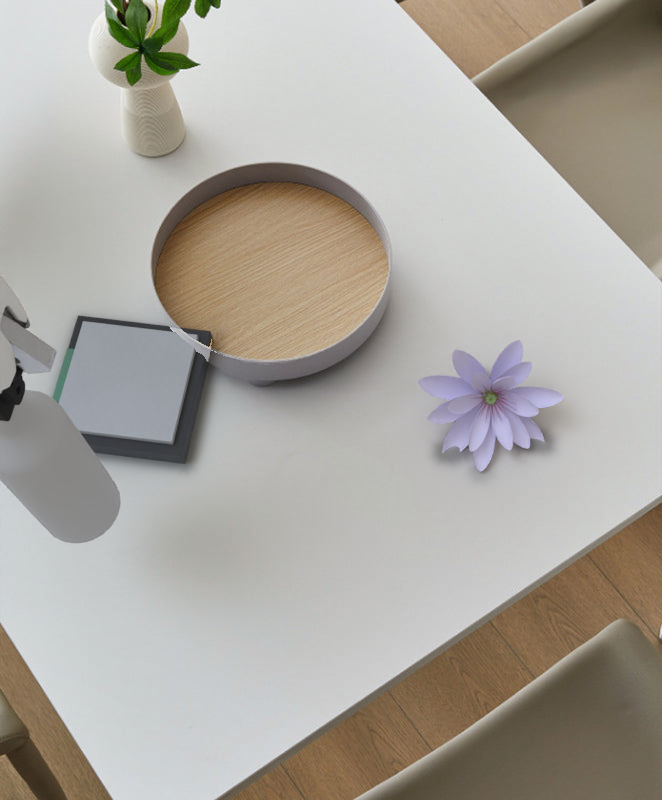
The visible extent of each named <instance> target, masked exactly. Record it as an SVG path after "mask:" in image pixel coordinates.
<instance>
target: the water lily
mask: <svg viewBox="0 0 662 800" xmlns="http://www.w3.org/2000/svg"><path fill="white" fill-rule="evenodd" d="M523 356H524V347H523V342H522V341H521V339H516V340H514V341H512V342H510V343H509V344H508V345H507V346H505V348H504V349H503V350H502V351H501V352H500V354H499V355H498V357H497V358H496V360H495V362H494V363H493V365H492V367H491V369H490V374H489V376H488V372H487V370H486V368H485V367H484V366H483V365H482V363H481V362H480V361H479V360H478V359H477V358H476V357H475V356H473V355H472V354H471V353H469V352H467V351H465V350H462V349H457V348H456V349H454V350H453V351H452V355H451V361H452V365H453V368H454V370H455V372H456V373H457V375H458V376H455V375H445V374H434V375H433V374H432V375H426V376H423V377H421V378H419V379H418V380H417V384H418V385H419V387H420V388H421V389H422V390H423V391H424V392H425V393H427V394H428V395H430V396H432V397H434V398H437V399H441V400H445V401H444V402H442V403H440V404H438V406H437V407H435V408H434V409H433V410H432V411H431V412H430V413H429V414H428V415H427V417H426V420H427V421H428V422H430V423H433V424H438V425H439V424H441V425H442V424H449V423H451V422H454V423H453V425H452V426H451V427H450V428H449V430H448V432H447V435H446V436H445V439H444V440H443V445H442V450H441V453H442V454H444V453H445V452H446V451H447V450H448V449H450V448H453V447H456V448H458V449H459V453H461V452H462V451H463V450H465V449H466V448H467V447H468V449H469V452H470V453H472V455H473V461H474V465H475V467H476V470H478V472H480V473H481V472H483V471H484V470H485V469H486V468H487V467H488V466H489V464H490V462H491V461H492V458H493V455H494V451H495V447H496V439H497V441H498V442H499V444H500V445H501V446H502V447H503V448H504V449H505V450H507V451H512V450H513V446H514V444H515V445H517V446H519V448H523V449H526V450H528V449H530V447H531V439H534V440H538V441H540V442H542V443H546V441H545V437H544V434H543V432H542V430H541V428H540V427H539V426H538V424H537V423H536V421H534V420H533V419H532V417H535V416H537V415H539V413H540V410H539V409H547V408H549V407H554V406H556V405H558V404H559V403H561V402H563V400H564V399H565V396H564V395H563V394H562V393H560V392H559V391H557V390H554V389H551V388H548V387H541V386H519V385H521V383H523V382H524V381H525V380H527V378H528V377H529V375H530V373H531V372H532V368H533V363H532V361H522V360H523V358H524V357H523Z"/></svg>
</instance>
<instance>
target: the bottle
mask: <svg viewBox="0 0 662 800" xmlns="http://www.w3.org/2000/svg"><path fill="white" fill-rule="evenodd" d="M96 454H97V453H94V452H93V450H92V449H91V447H90V446H89V445H88V443H87V442H86V440H85V439H84V437H83V436H82V435H81V433H80V432H79V430H78V429H77V427H76V426H75V425H74V423H73V422H72V420H71V419H70V418H69V416H68V415H67V413H66V412H65V410H64V409H63V408H62V406H61V405H60V404H59V403H58V402H57V401H55V400H54V399H53V396H51V395H49V394H46V393H44V392H42V391H40V390H39V391H38V390H30V389H25V393H24V396H23V399H22V402H21V404H20V405H15V407H14V410H13V413H12V416H11V419H10V421H8V422H7V421H0V481H1V483H3V485H4V486H5V487H6V488H7V489H8V490H9V491H10V492H11V494H13V496H14V497H15V498H16V499H17V500H18V501H19V502H20V503H21V504H22V506H23V507H25V509H27V511H28V512H29V513H30V514H31V515H32V516H33V517H34V518H35V519H36V520H37V521H38V522H39V524H40V525H42V527H43V528H44V529H45V530H46V531H47V532H48V533H49V534H50V535H51V536H52V537H53V538H55V539H57V540H59V541H61V542H64V543H69V544H84V543H88V542H91V541H94V540H96V539H98V538H99V537H102V536H103V535H104V534H105V533H106V532H108V530H109V529H110V528H112V526H113V525H114V523H115V522H116V520H117V518H118V516H119V513H120V509H121V494H120V493H121V492H120V490H119V488H118V486H117V484H116V482H115V481H114V480H113V478H112V476H111V475H110V473H109V471H108V469H106V467H105V466H104V464H103V463H102V461H101V460H100V458H99V457H98V455H96Z"/></svg>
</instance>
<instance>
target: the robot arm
mask: <svg viewBox="0 0 662 800" xmlns="http://www.w3.org/2000/svg"><path fill="white" fill-rule="evenodd" d="M30 327H31V321H30V318H29V316H28V314H27V312H26V309H25V308H24V306H23V304H22V302H21V300H20V299H19V298H18V296H17V295H16V293H15V291H14V290H13V289H12V288H11V285H10V284H9V283H8V282H7V281H6V279H5V278H4V277H3V275H2V274H1V273H0V421H7V422H8V421H10V419H11V416H12V413H13V410H14V407H15V405H20V404H21V402H22V399H23V396H24V393H25V390H26V382H25V380H24V379H23V373H27V374H28V375H32V374H43V373H49V372H51V371H52V368H53V365H54V362H55V359H56V356H57V352H58V351H57V350H56V349H55V348H54V347H52V346H51V345H49V344H48V343H47V342H45V341H44V340H42V339H41V338H39V337H38V336H36V335H35V334H34V333H32V332H31V331H29V330H27V329H28V328H30Z"/></svg>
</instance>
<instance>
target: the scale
mask: <svg viewBox="0 0 662 800" xmlns="http://www.w3.org/2000/svg"><path fill="white" fill-rule="evenodd" d="M169 326H170V325H161V324H154V323H146V322H138V321H128V320H120V319H113V318H104V317H96V316H95V317H94V316H86V315H77V318H76V322H75V324H74V328H73V331H72V334H71V336H70V337H71V338H70V341H69V344H68V346H67V348H66V351H65V355H64V358H63V362H62V365H61V368H60V370H59V374H58V378H57V380H56V384H55V389H54V390H53V394H52V398H53V399H54V400H55V401H57V402H58V403H59V404H60V405H61V406H62V408H63V409H64V410H65V412H66V413H67V415H68V416H69V418H70V419H71V420H72V422H73V423H74V425H75V426H76V427H77V429H78V430H79V432H80V433H81V435H82V436H83V437H84V439H85V440H86V442H87V443H88V445H89V446H90V447H91V449H92V450H93V452H94V453H95V454H101V455H110V456H117V457H118V456H119V457H127V458H134V459H142V460H149V461H159V462H166V463H175V464H181V465H185V464H186V462H187V458H188V453H189V450H190V449H189V448H190V445H191V441H192V436H193V432H194V429H195V424H196V419H197V415H198V411H199V406H200V402H201V398H202V393H203V389H204V384H205V380H206V377H207V372H208V368H209V363H210V361H209V362H207V361H206V359H205V357H204V356H203V355H202V354H200V353H198V352H196V350H195V348H194V347H193V346H192V345H190V344H189V343H187V342H186V341H185V340H183V339H182V338H181V337H180V336H179V335H178V334H177V333H176V332H173V331H172V330H171V329H170V327H169ZM180 328H181V329H182V330H183V331H184V332H186V333H187V334H188V335H189V336H190V337H192V338H193V339H195V340H197V341H199V342H201V343H202V344H204V345H206V346H208V347H209V346H210V343H211V339H212V338H213V334H212V332H211V331H210V330H203V329H195V328H188V327H180ZM213 341H214V340H213ZM213 341H212V342H213ZM213 343H214V342H213ZM211 346H212V345H211Z"/></svg>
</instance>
